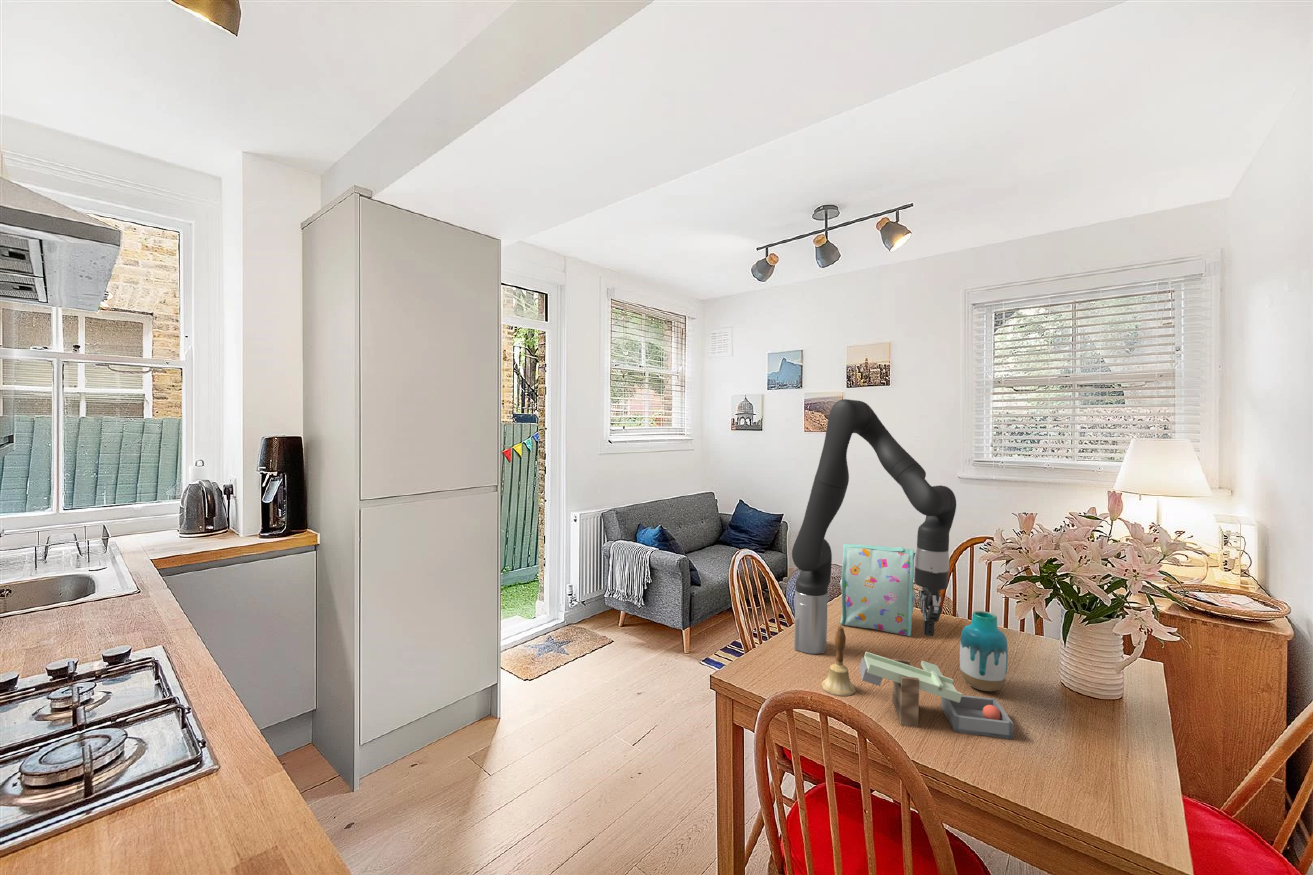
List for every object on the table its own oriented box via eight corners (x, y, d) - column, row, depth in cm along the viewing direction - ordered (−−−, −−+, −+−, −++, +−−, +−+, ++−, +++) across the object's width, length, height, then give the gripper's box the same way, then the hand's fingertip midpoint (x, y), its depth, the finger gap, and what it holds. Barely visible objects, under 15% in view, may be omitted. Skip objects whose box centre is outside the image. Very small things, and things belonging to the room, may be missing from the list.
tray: (954, 731, 122) (954, 716, 122) (941, 706, 133) (941, 692, 132) (1012, 739, 120) (1013, 723, 119) (995, 713, 130) (995, 698, 130)
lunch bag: (913, 621, 186) (915, 542, 185) (914, 639, 171) (916, 554, 170) (842, 610, 196) (843, 535, 194) (837, 627, 181) (838, 546, 179)
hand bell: (857, 684, 143) (858, 623, 143) (853, 699, 136) (855, 635, 135) (824, 677, 147) (825, 618, 146) (819, 691, 139) (820, 629, 139)
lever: (862, 681, 128) (868, 661, 127) (854, 652, 143) (859, 634, 142) (956, 712, 124) (962, 691, 123) (937, 679, 139) (943, 661, 138)
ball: (986, 724, 124) (984, 709, 124) (981, 716, 127) (979, 701, 127) (1003, 725, 123) (1002, 709, 123) (997, 716, 127) (996, 701, 126)
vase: (990, 702, 135) (992, 625, 134) (949, 682, 144) (952, 610, 143) (1015, 692, 140) (1018, 617, 139) (974, 674, 149) (977, 604, 148)
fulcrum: (900, 724, 125) (902, 678, 124) (892, 701, 135) (893, 658, 134) (918, 727, 124) (919, 680, 123) (908, 703, 134) (909, 659, 134)
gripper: (909, 558, 144) (906, 623, 145) (921, 573, 131) (918, 644, 132) (941, 560, 142) (937, 626, 143) (956, 575, 129) (952, 648, 130)
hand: (928, 634), depth 138 cm, fingers closed
